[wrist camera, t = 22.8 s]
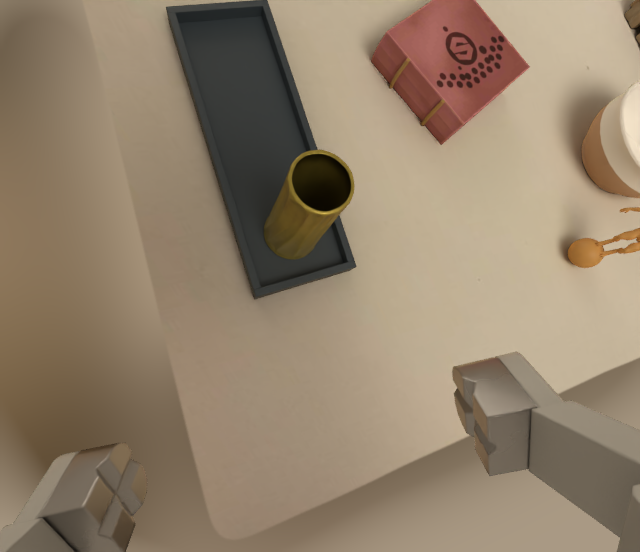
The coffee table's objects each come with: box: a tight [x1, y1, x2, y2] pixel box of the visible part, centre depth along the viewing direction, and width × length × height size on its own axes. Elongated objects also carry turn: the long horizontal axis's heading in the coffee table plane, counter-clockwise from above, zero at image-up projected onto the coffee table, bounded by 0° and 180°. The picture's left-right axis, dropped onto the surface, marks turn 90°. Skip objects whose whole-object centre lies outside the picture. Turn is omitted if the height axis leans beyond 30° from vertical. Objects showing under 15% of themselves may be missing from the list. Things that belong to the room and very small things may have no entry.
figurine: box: [568, 208, 640, 268], centre depth 46 cm, size 8×6×12 cm
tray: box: [166, 0, 356, 299], centre depth 42 cm, size 34×12×2 cm, turn 19°
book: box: [371, 0, 530, 145], centre depth 49 cm, size 14×15×5 cm
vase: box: [264, 150, 354, 260], centre depth 35 cm, size 6×6×14 cm
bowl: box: [581, 81, 640, 198], centre depth 53 cm, size 16×16×8 cm
